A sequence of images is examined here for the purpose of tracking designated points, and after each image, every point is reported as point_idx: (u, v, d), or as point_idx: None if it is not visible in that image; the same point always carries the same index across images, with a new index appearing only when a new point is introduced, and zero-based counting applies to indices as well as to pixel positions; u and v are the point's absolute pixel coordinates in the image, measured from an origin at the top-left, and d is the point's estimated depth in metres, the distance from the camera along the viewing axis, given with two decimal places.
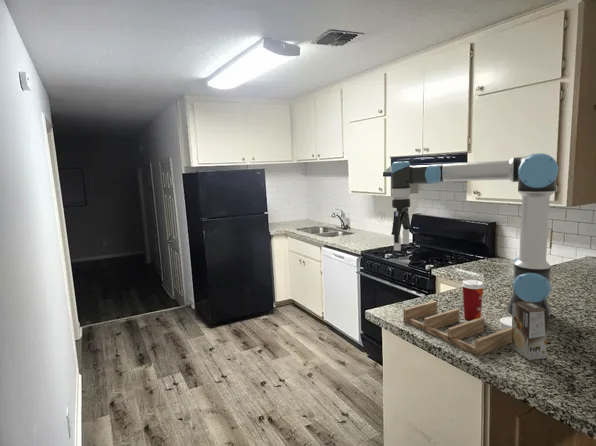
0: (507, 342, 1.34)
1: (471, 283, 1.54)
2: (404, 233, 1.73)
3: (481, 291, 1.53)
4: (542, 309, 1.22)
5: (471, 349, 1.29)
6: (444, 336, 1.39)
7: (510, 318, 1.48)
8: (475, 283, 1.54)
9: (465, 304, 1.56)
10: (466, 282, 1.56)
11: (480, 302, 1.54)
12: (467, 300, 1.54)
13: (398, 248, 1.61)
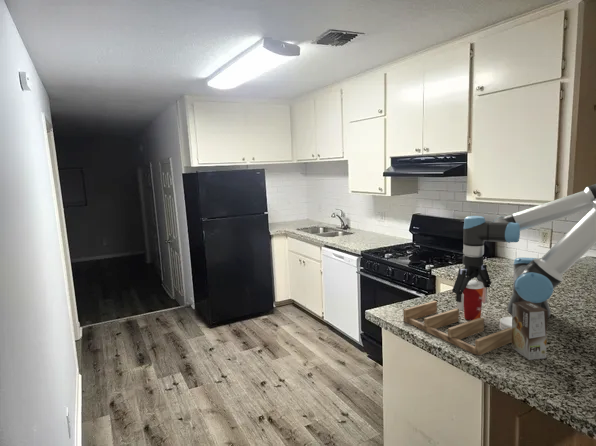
0: (507, 342, 1.34)
1: (471, 283, 1.54)
2: None
3: (481, 291, 1.53)
4: (542, 309, 1.22)
5: (471, 349, 1.29)
6: (444, 336, 1.39)
7: (510, 318, 1.48)
8: (475, 283, 1.54)
9: (465, 304, 1.56)
10: None
11: (480, 302, 1.54)
12: (467, 300, 1.54)
13: (460, 307, 1.53)
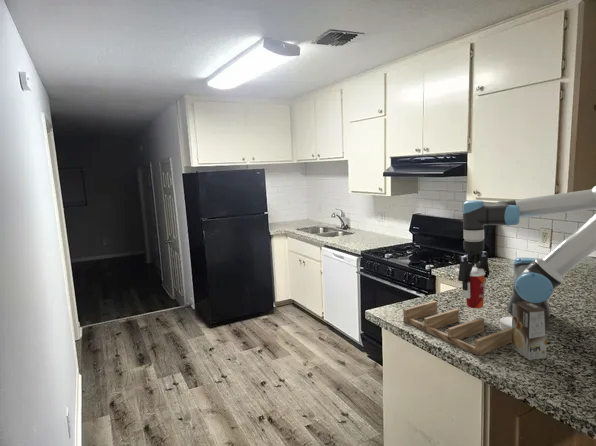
0: (507, 342, 1.34)
1: (472, 270, 1.53)
2: None
3: (482, 278, 1.52)
4: (542, 309, 1.22)
5: (471, 349, 1.29)
6: (444, 336, 1.39)
7: (510, 318, 1.48)
8: (476, 270, 1.53)
9: None
10: None
11: (482, 289, 1.53)
12: None
13: (467, 296, 1.53)
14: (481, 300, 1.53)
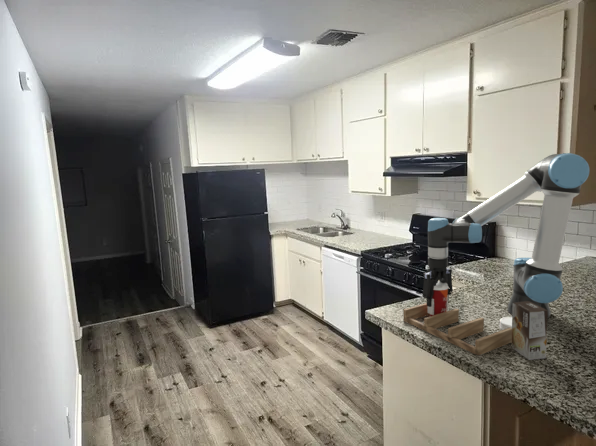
0: (507, 342, 1.34)
1: (436, 284, 1.55)
2: None
3: (445, 292, 1.53)
4: (542, 309, 1.22)
5: (471, 349, 1.29)
6: (444, 336, 1.39)
7: (510, 318, 1.48)
8: (440, 284, 1.55)
9: None
10: None
11: (445, 303, 1.54)
12: None
13: (431, 312, 1.55)
14: None
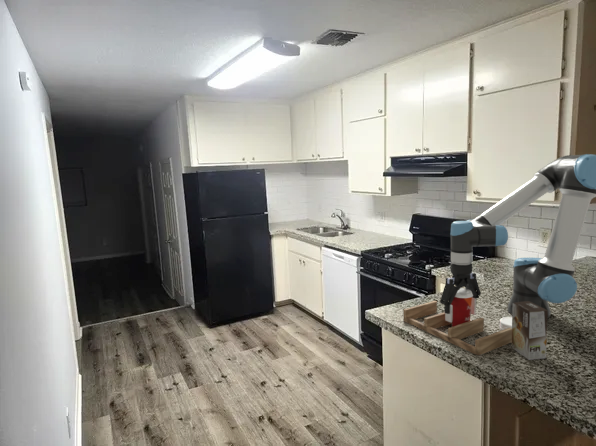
0: (507, 342, 1.34)
1: (459, 292, 1.45)
2: None
3: (470, 300, 1.44)
4: (542, 309, 1.22)
5: (471, 349, 1.29)
6: (444, 336, 1.39)
7: (510, 318, 1.48)
8: (463, 292, 1.45)
9: (453, 314, 1.47)
10: None
11: (469, 312, 1.44)
12: (455, 310, 1.45)
13: (449, 319, 1.44)
14: None
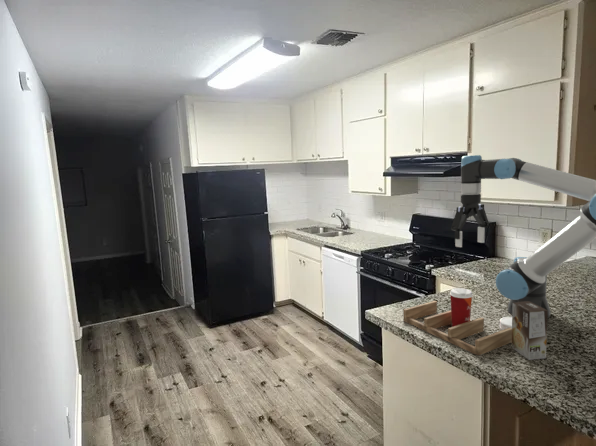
0: (507, 342, 1.34)
1: (459, 292, 1.45)
2: (479, 231, 1.64)
3: (470, 300, 1.43)
4: (542, 309, 1.22)
5: (471, 349, 1.29)
6: (444, 336, 1.39)
7: (510, 318, 1.48)
8: (463, 292, 1.45)
9: (453, 314, 1.46)
10: (454, 290, 1.46)
11: (469, 312, 1.44)
12: (455, 310, 1.45)
13: (459, 245, 1.57)
14: None
